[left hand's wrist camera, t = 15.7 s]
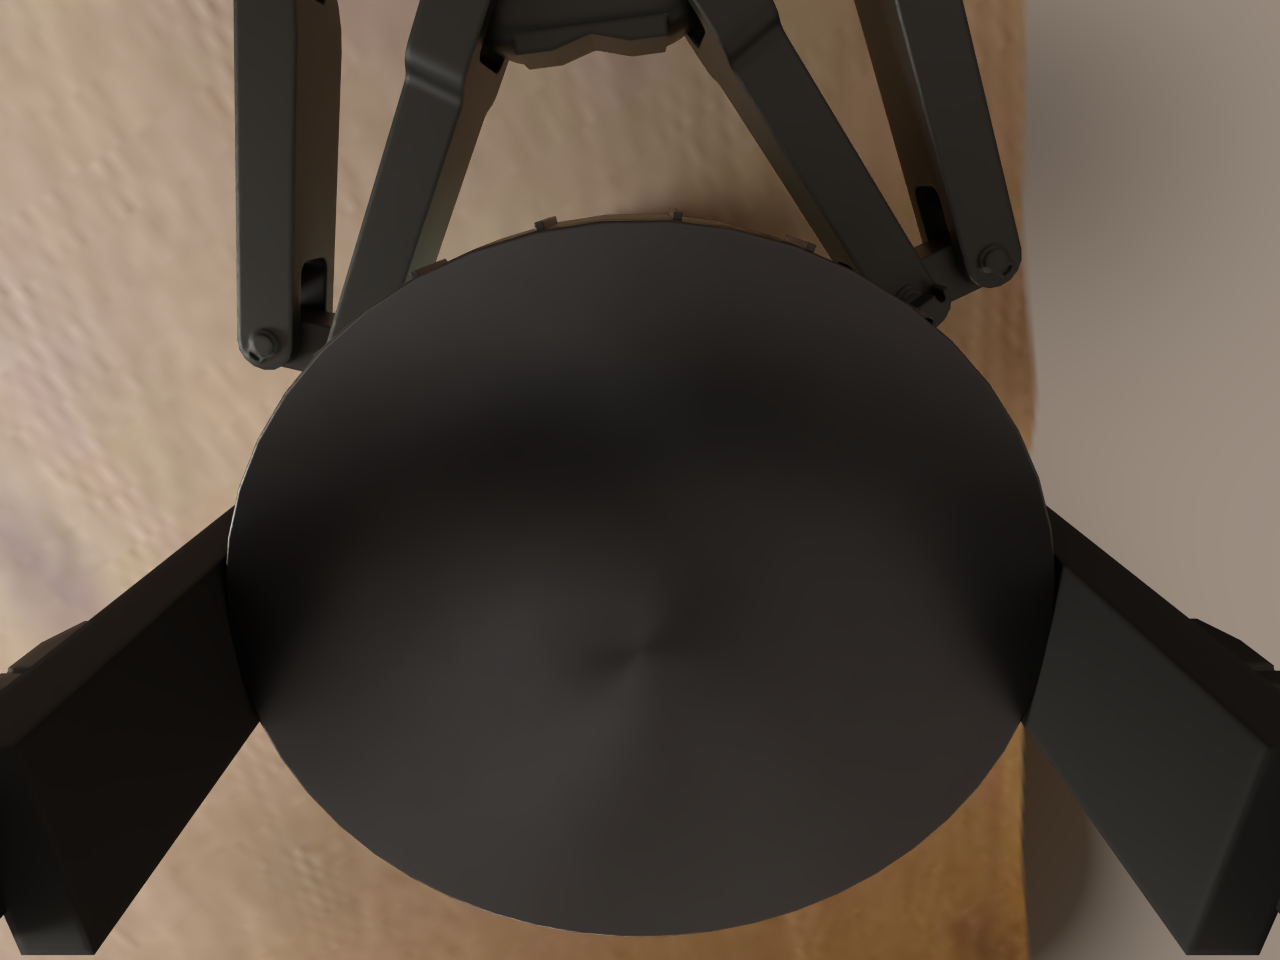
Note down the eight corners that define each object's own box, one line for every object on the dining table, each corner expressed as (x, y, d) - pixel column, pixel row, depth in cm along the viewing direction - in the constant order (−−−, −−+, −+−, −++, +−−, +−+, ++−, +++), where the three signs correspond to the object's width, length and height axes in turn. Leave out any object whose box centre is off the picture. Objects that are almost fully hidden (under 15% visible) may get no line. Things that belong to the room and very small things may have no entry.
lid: (974, 120, 10) (1057, 105, 8) (1003, 788, 14) (1061, 885, 12) (166, 304, 11) (61, 330, 9) (419, 880, 15) (386, 984, 13)
